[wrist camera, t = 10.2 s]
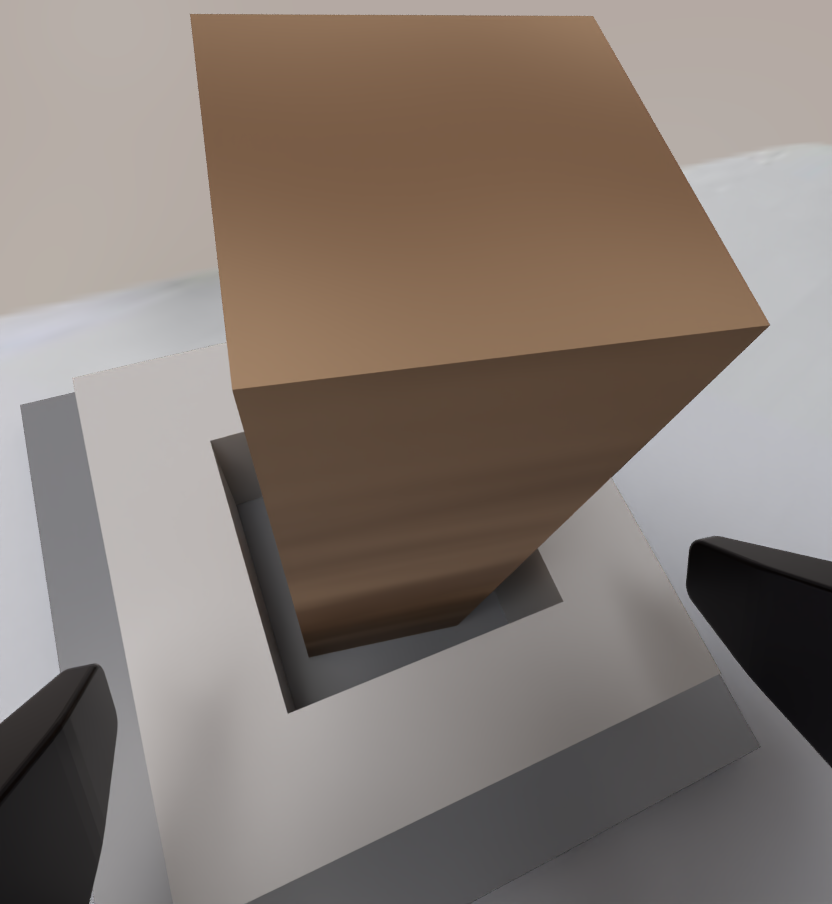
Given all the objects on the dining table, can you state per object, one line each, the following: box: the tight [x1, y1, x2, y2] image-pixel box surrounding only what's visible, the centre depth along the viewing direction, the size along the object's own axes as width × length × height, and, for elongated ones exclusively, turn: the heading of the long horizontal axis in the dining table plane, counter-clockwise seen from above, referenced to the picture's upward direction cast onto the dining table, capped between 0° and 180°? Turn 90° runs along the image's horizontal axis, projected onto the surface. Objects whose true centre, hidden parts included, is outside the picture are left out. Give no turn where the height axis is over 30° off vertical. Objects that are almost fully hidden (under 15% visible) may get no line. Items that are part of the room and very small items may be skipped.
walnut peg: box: [190, 14, 770, 657], centre depth 11 cm, size 4×4×13 cm
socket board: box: [20, 342, 760, 904], centre depth 15 cm, size 16×16×5 cm
